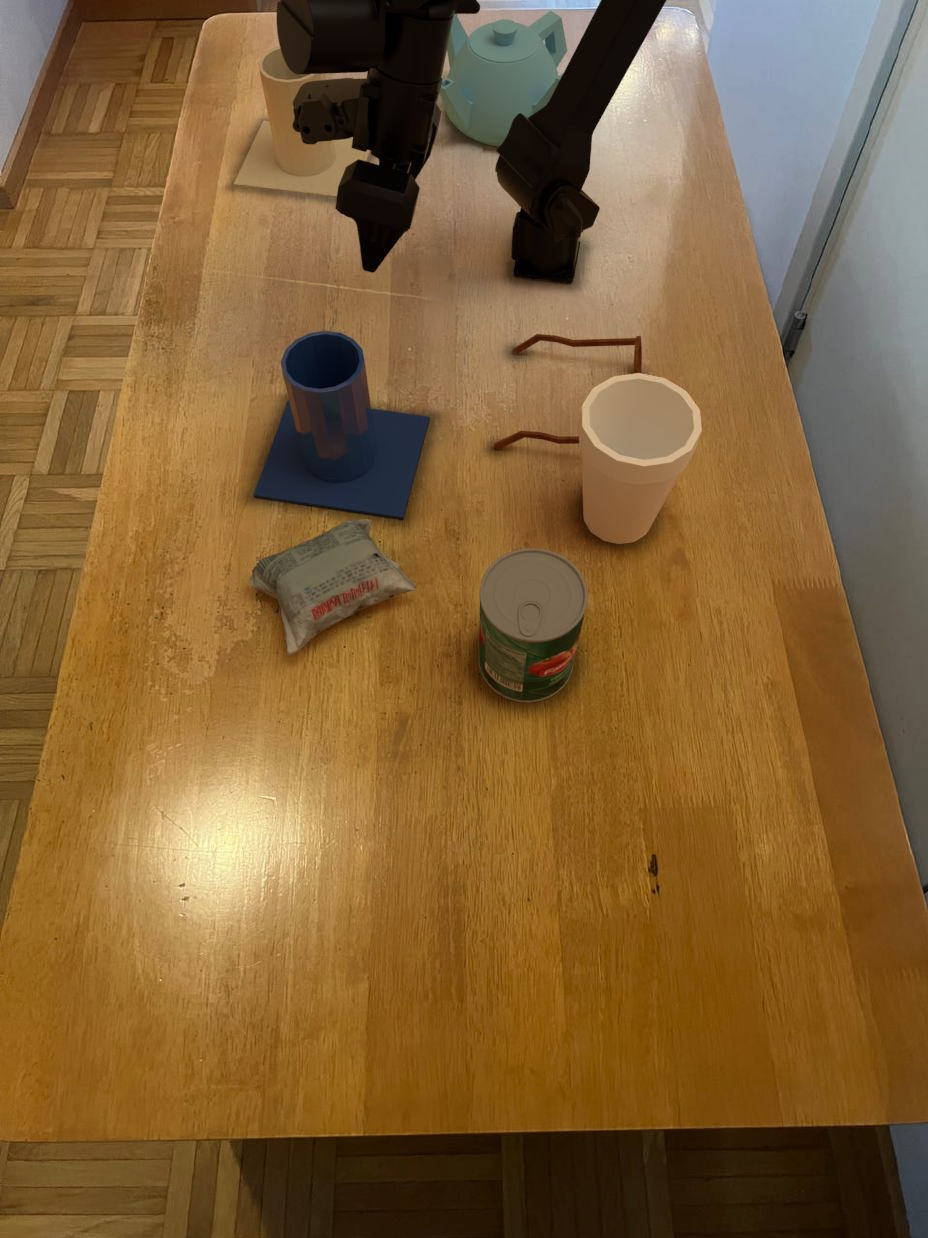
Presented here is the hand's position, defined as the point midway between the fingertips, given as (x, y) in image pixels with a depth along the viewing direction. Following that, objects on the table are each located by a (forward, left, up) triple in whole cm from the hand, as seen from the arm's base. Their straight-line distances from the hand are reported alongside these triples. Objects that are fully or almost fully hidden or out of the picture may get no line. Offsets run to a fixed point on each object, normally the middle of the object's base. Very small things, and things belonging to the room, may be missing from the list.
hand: (377, 243), depth 86 cm
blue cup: (+1, +17, -10) cm, 20 cm away
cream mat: (+15, -25, -11) cm, 31 cm away
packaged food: (-3, +32, -11) cm, 34 cm away
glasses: (-20, +7, -11) cm, 24 cm away
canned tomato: (-20, +35, -11) cm, 42 cm away
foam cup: (-26, +19, -11) cm, 34 cm away
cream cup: (+15, -25, -10) cm, 31 cm away
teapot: (-6, -37, -11) cm, 39 cm away
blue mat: (0, +17, -11) cm, 20 cm away
